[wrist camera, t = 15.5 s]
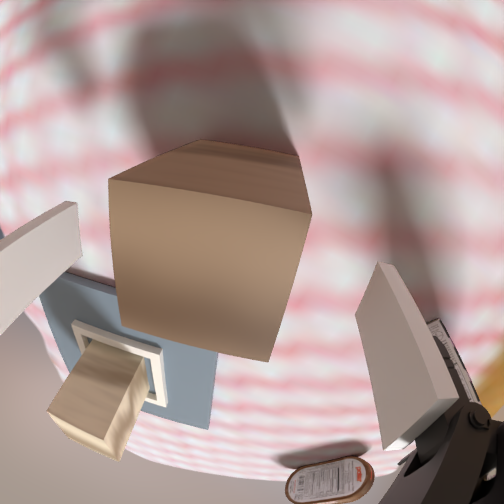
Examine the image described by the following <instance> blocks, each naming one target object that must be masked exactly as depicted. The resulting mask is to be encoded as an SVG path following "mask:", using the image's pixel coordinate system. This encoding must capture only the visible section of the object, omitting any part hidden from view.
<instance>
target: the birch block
mask: <svg viewBox="0 0 504 504" xmlns="http://www.w3.org/2000/svg"><path fill="white" fill-rule="evenodd" d="M149 389H150V387H149V382H148V377H147V371H146V366H145V360H144V357H143V356H140V355H136V354H133V353H130V352H127V351H124V350H122V349H119V348H116V347H113V346H110V345H108V344H105V343H102V342H99V341H97V340H94V339H92V341H91V342H90V344H89V345H88V347H87V348H86V350H85V351H84V353H83V354H82V356H81V357H80V359H79V360H78V362H77V363H76V365H75V366H74V368H73V369H72V371H71V372H70V374H69V375H68V377H67V379H66V380H65V382H64V383H63V385H62V386H61V388H60V390H59V392H58V393H57V395H56V396H55V398H54V399H53V401H52V403H51V405H50V406H49V408H48V410H47V412H48V414H49V415H50V416H51V417H52V419H53V420H54V421H55V422H56V424H57V425H58V426H59V427H60V429H61V430H62V431H63V432H64V433H65V434H66V436H67V437H68V438H69V439H71V440H73V441H75V442H77V443H79V444H81V445H83V446H85V447H87V448H89V449H91V450H93V451H95V452H98V453H100V454H102V455H104V456H107V457H109V458H111V459H114V460H116V461H118V462H119V461H120V459H121V456H122V454H123V451H124V449H125V446H126V444H127V441H128V439H129V437H130V434H131V432H132V429H133V427H134V424H135V422H136V420H137V417H138V415H139V412H140V410H141V408H142V405H143V403H144V401H145V398H146V396H147V394H148V391H149Z"/></svg>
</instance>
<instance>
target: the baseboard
mask: <svg viewBox="0 0 504 504" xmlns="http://www.w3.org/2000/svg"><path fill="white" fill-rule="evenodd" d="M39 297H40V300H41V303H42V306H43V309H44V312H45V315H46V317H47V320H48V323H49V326H50V328H51V331H52V333H53V336H54V338H55V341H56V343H57V346H58V348H59V351H60V353H61V355H62V357H63V360H64V362H65V364H66V366H67V368H68V370H69V373H70V372H71V371H72V369H73V368H74V366H75V365H76V363H77V362H78V360H79V359H80V357H81V356H82V354H81V352H80V349H79V346H78V343H77V340H76V338H75V335H74V332H73V329H72V325H71V324H72V322H73V321H74V320H75V319H76V320H78V321H81V322H83V323H86V324H89V325H91V326H94V327H97V328H99V329H102V330H105V331H108V332H111V333H113V334H116V335H119V336H122V337H125V338H128V339H131V340H135V341H138V342H141V343H144V344H147V345H151V346H154V347H158V348H161V349H163V361H164V371H165V381H166V389H167V398H168V404H167V407H163V406H159V405H156V404H153V403H150V402H147V401H144V403H143V405H142V408H141V411H144V412H146V413H149V414H153V415H156V416H159V417H162V418H165V419H169V420H172V421H176V422H179V423H183V424H187V425H190V426H194V427H198V428H203V429H207V430H208V428H209V424H210V415H211V407H212V398H213V390H214V382H215V374H216V366H217V358H218V352H214V351H210V350H206V349H201V348H197V347H193V346H189V345H185V344H181V343H178V342H174V341H170V340H167V339H163V338H159V337H156V336H153V335H149V334H146V333H142V332H139V331H136V330H133V329H130V328H126V327H123V326H122V325H121V319H120V313H119V307H118V300H117V293H116V288H115V287H112V286H109V285H105V284H102V283H99V282H95V281H92V280H89V279H86V278H82V277H79V276H76V275H73V274H70V273H67V272H64V273H62V274H61V275H60V276H59V277H58V278H57V279H56V280H55V281H54V282H53V283H52V284H51V285H49V286H48V287H47V288H46V289H45V290H44V291H43V292H42V293H41V294H40V295H39ZM87 339H88V342H89V344H90V342H91V341H92V338H89V337H87ZM144 360H145V366H146V371H147V377H148V382H149V387H150V389H149V391H148V392H149V393H152V394H156V391H155V386H154V380H153V374H152V367H151V360H150V359H149V358H146V357H144Z"/></svg>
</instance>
